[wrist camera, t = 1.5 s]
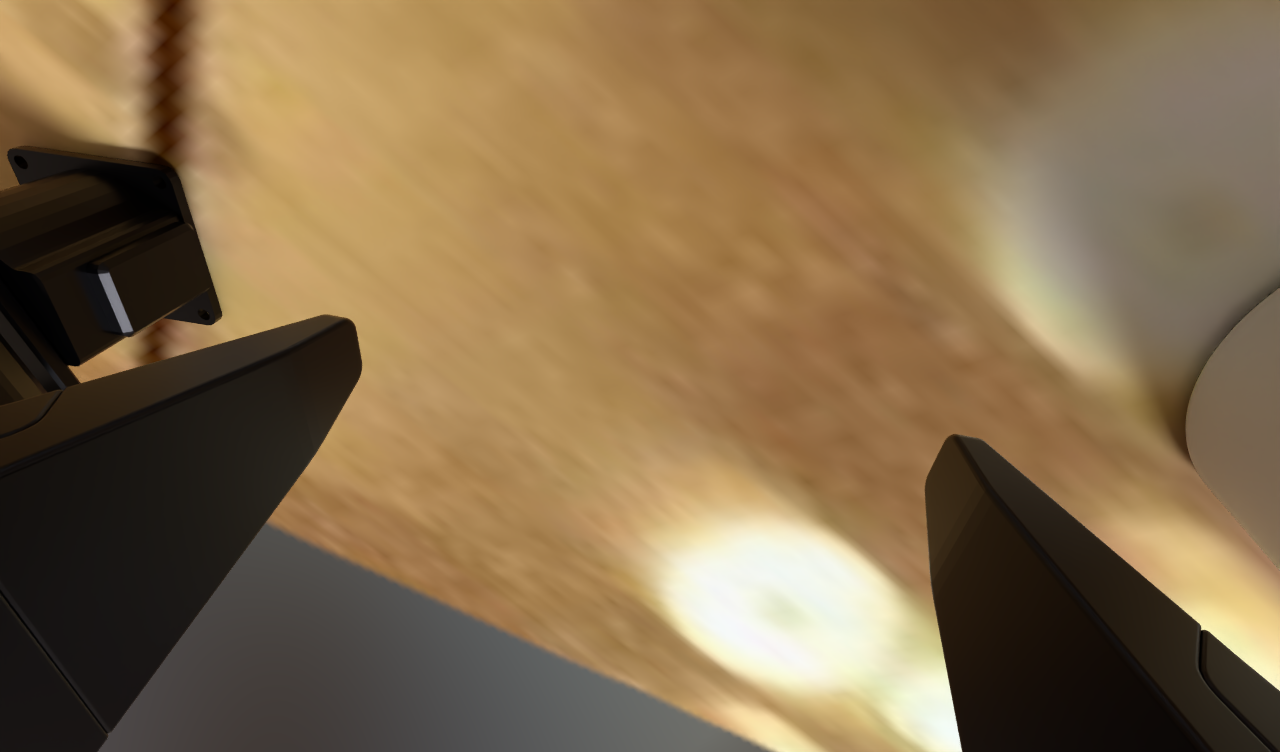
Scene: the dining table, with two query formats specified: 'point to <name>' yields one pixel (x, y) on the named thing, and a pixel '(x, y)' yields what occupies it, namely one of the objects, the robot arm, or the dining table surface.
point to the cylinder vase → (1242, 424)
